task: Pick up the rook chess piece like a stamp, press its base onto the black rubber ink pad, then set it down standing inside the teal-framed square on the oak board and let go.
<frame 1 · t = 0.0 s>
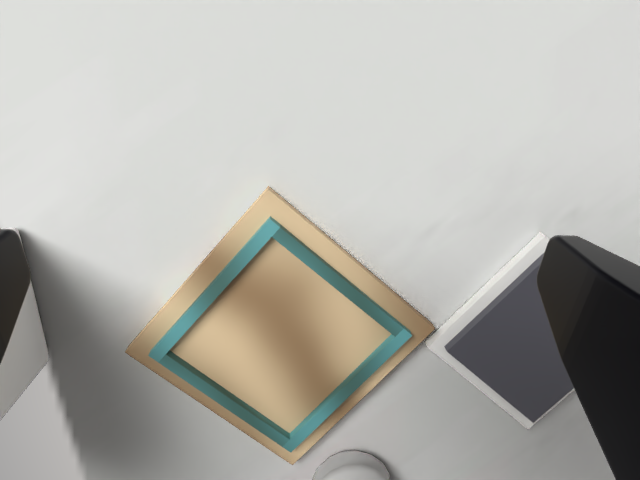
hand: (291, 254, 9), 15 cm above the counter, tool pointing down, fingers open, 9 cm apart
rook chess piece: (349, 474, 30), on the counter
ink pad: (531, 333, 28), on the counter
print board: (281, 334, 27), on the counter
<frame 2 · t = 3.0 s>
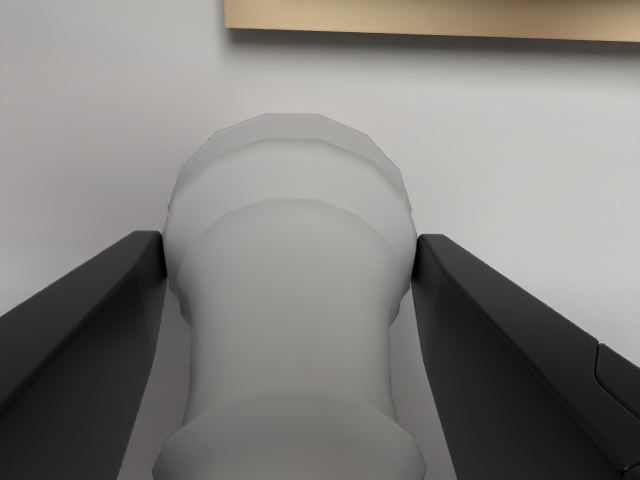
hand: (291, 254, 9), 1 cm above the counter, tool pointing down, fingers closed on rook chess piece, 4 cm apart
rook chess piece: (291, 210, 10), on the counter, touching gripper
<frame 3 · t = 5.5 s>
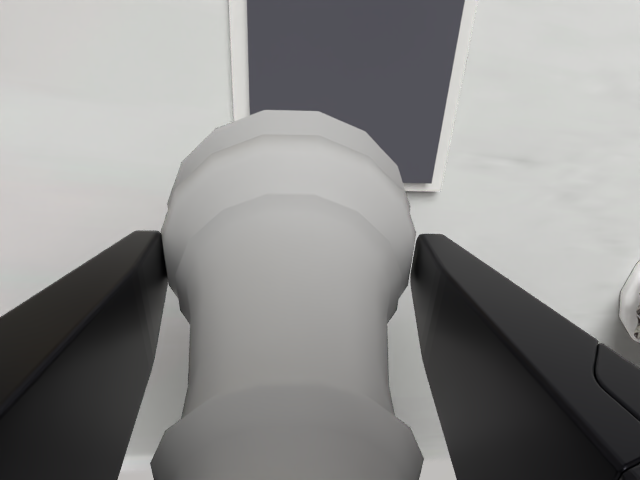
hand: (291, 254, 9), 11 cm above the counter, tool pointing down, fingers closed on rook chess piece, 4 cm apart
rook chess piece: (290, 207, 10), point 10 cm above the counter, touching gripper
ink pad: (346, 82, 19), on the counter
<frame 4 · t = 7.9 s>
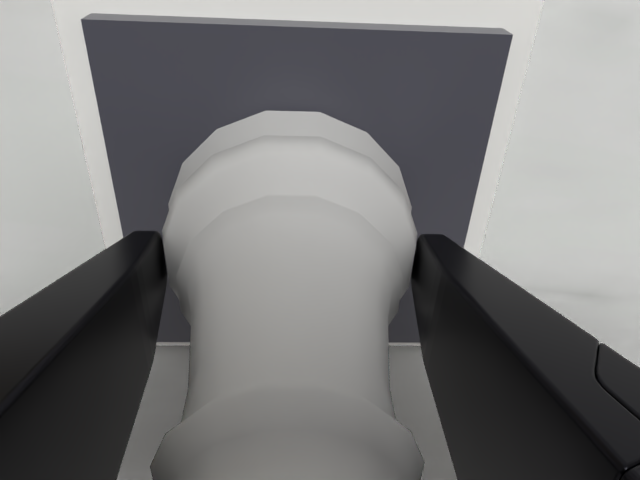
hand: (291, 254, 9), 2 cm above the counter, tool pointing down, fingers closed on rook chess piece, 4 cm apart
rook chess piece: (291, 207, 10), point 1 cm above the counter, touching gripper, ink pad
ink pad: (297, 187, 11), on the counter
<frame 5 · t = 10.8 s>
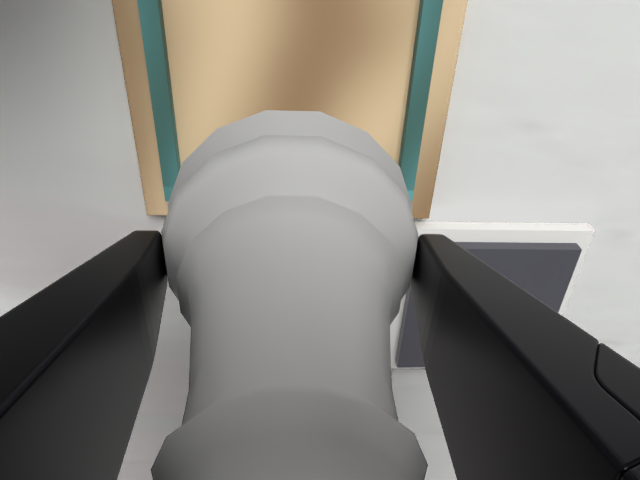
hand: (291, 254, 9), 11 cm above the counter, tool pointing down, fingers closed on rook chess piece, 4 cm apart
rook chess piece: (291, 208, 10), point 9 cm above the counter, touching gripper
ink pad: (475, 296, 24), on the counter
print board: (291, 70, 18), on the counter
when the fingers open (3 cm above the counter, at t = 13.0 s): rook chess piece stays where it is, resting on print board.
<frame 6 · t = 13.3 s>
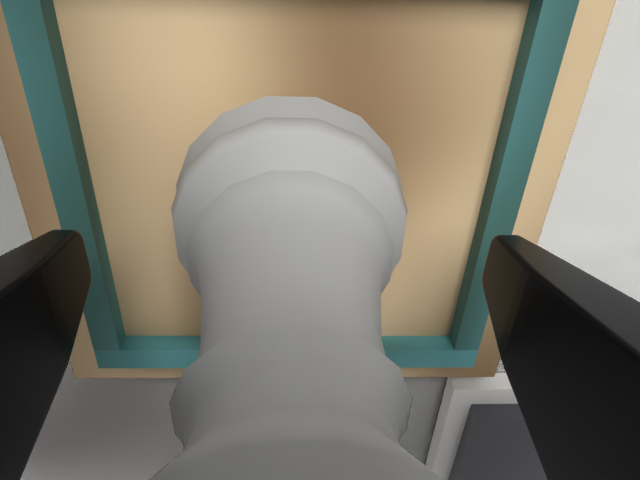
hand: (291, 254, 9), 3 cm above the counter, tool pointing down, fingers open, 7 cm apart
rook chess piece: (290, 189, 11), resting on print board
ink pad: (546, 457, 17), on the counter
print board: (292, 179, 11), on the counter
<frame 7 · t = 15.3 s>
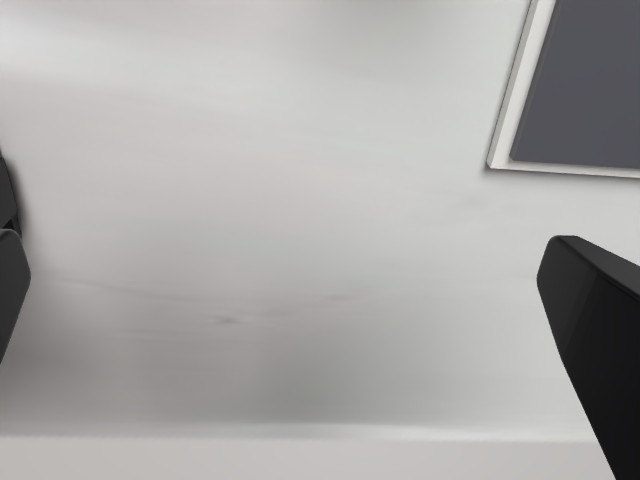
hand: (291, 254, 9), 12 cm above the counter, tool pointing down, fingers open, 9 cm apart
ink pad: (615, 72, 20), on the counter
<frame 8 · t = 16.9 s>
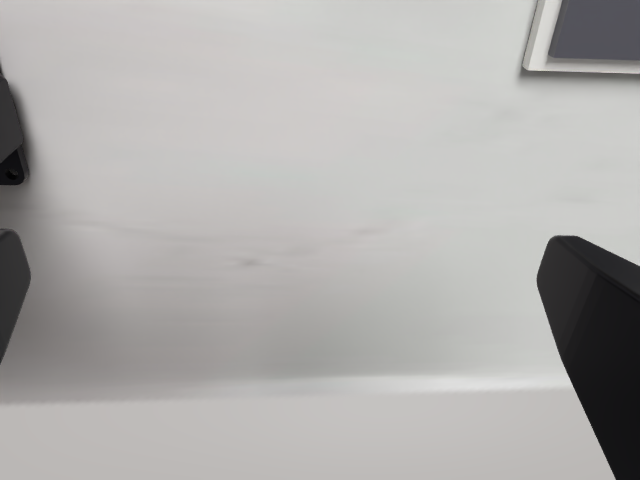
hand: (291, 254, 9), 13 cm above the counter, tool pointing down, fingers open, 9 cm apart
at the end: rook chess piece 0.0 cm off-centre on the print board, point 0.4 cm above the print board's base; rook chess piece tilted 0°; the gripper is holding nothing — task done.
